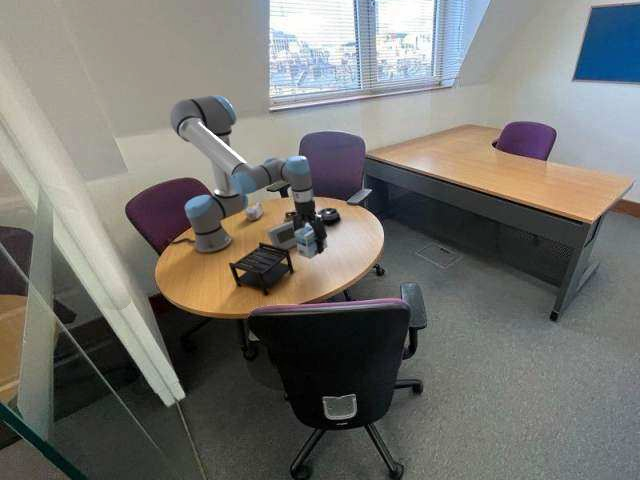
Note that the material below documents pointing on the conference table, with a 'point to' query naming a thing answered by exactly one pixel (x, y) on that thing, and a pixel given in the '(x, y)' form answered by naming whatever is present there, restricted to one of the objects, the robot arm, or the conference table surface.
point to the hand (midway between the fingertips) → (313, 250)
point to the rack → (262, 267)
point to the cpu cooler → (329, 216)
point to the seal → (288, 217)
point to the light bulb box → (307, 242)
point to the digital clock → (283, 236)
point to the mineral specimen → (254, 212)
